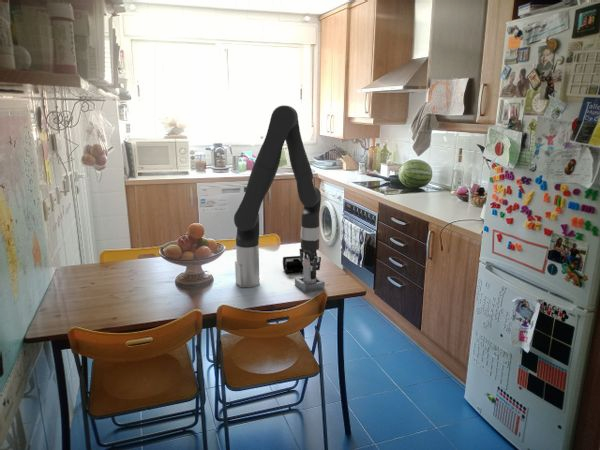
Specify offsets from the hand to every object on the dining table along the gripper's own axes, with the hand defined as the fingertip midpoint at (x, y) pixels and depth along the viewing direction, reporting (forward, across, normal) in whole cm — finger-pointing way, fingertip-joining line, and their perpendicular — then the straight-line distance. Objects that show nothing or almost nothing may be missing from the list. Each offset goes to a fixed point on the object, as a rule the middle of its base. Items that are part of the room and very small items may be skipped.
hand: (309, 276), depth 182 cm
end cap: (+5, -19, +3) cm, 20 cm away
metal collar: (+5, 0, 0) cm, 5 cm away
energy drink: (+4, 0, 0) cm, 4 cm away
